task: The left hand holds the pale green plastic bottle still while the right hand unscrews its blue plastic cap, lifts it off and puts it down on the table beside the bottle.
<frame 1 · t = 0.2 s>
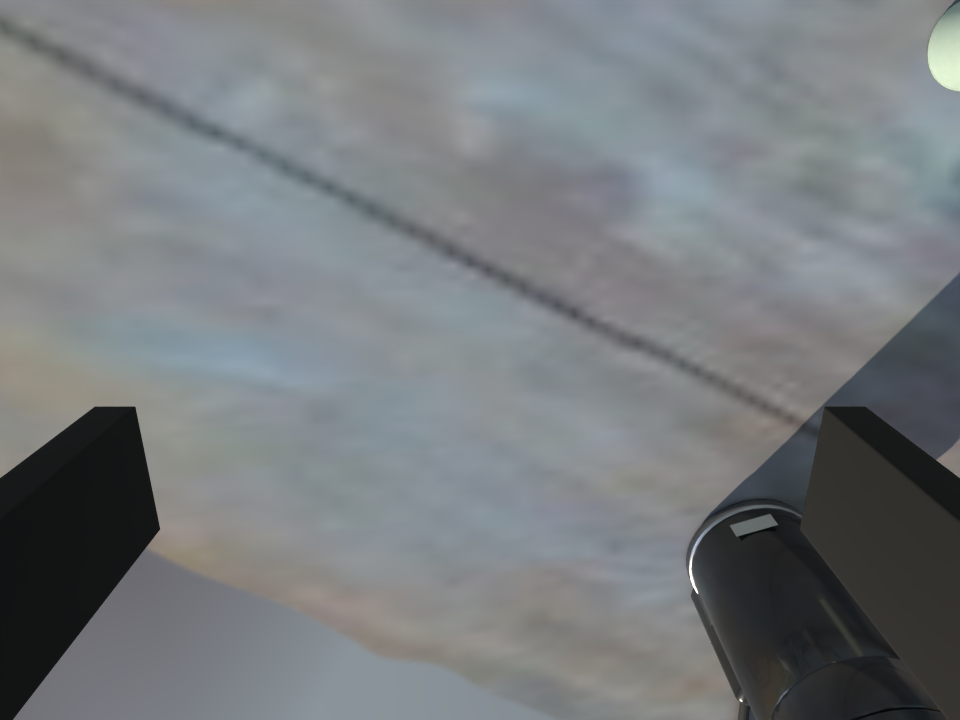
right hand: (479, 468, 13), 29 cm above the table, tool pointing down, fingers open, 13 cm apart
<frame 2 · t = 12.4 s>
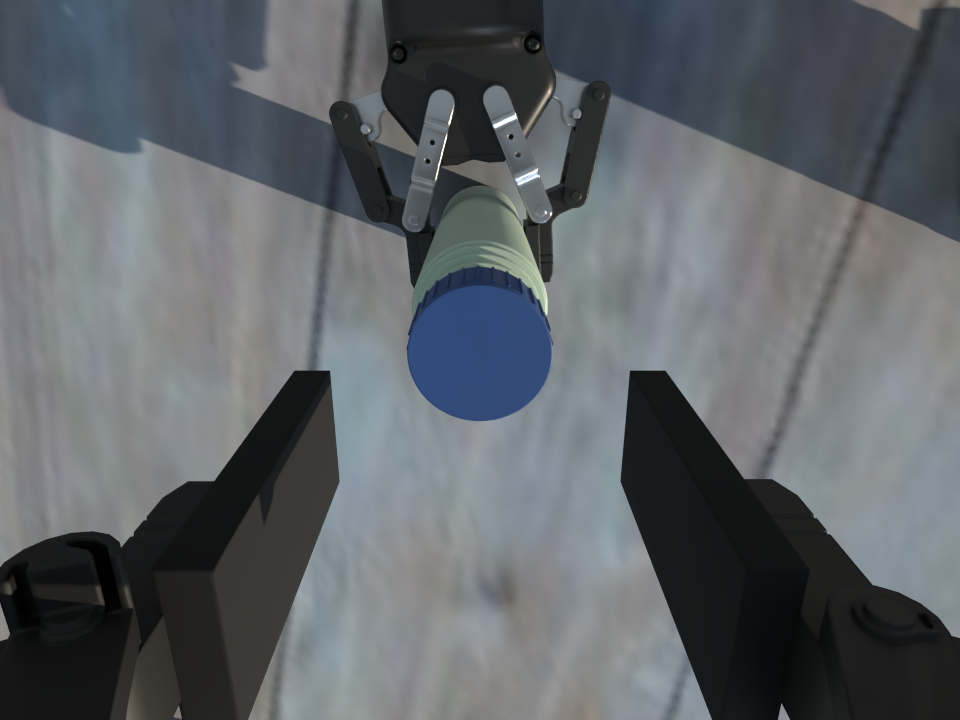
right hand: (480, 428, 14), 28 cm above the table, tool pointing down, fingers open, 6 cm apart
left hand: (482, 292, 36), fingers closed on bottle, 5 cm apart
cap: (479, 352, 19), point 24 cm above the table, screwed on, not yet turned
bottle: (479, 225, 41), on the table, touching left hand
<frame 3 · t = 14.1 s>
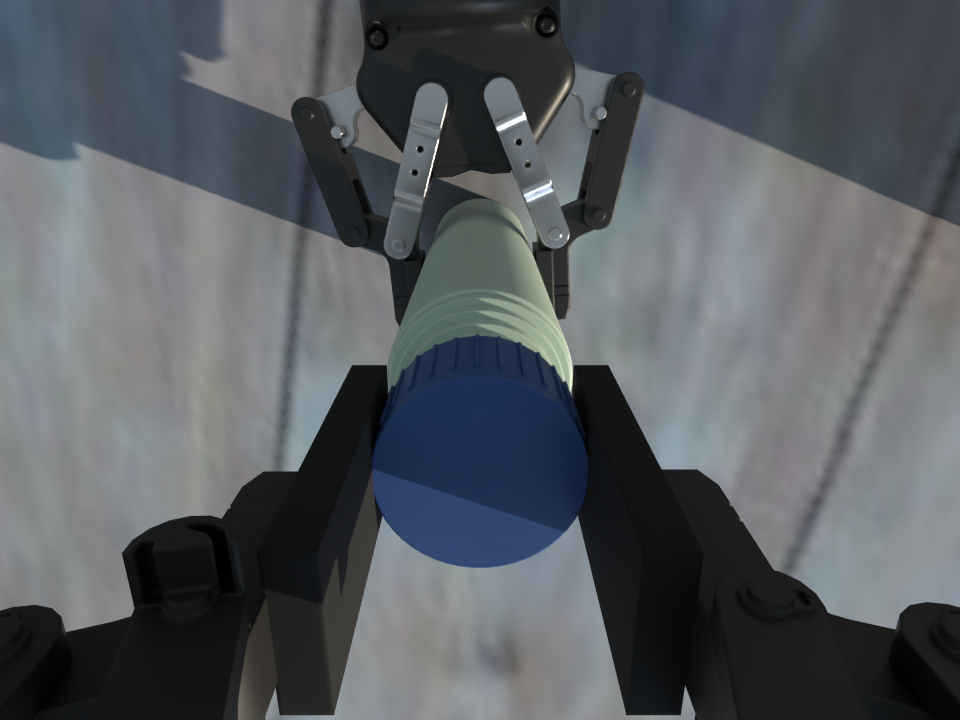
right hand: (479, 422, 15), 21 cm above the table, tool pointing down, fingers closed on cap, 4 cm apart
left hand: (483, 330, 29), fingers closed on bottle, 5 cm apart
cap: (480, 470, 13), point 24 cm above the table, screwed on, not yet turned, touching right hand
bottle: (479, 244, 35), on the table, touching left hand
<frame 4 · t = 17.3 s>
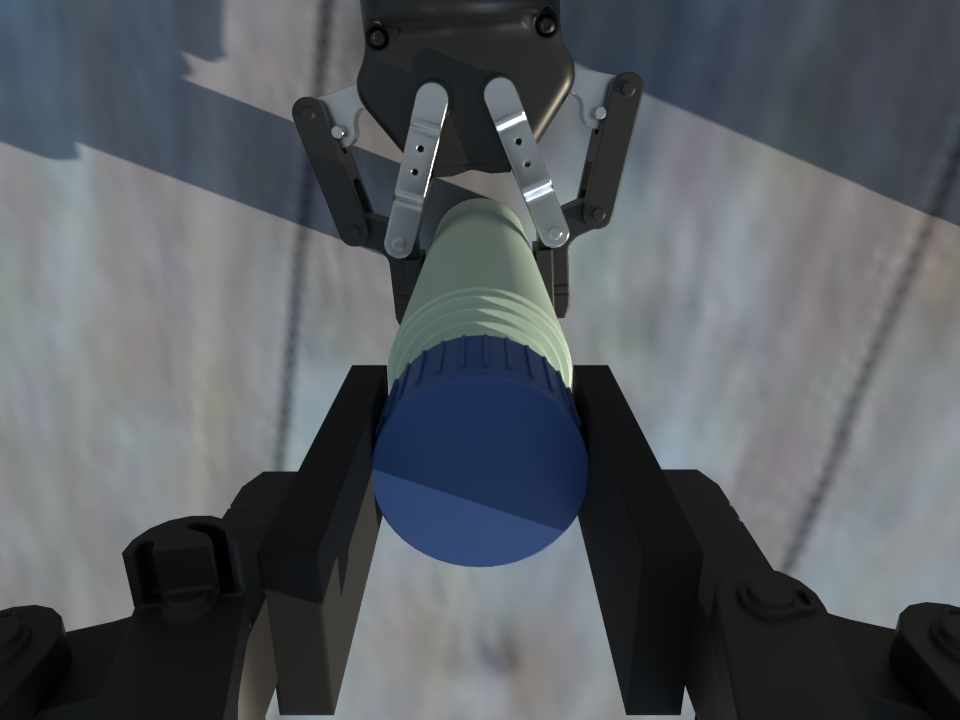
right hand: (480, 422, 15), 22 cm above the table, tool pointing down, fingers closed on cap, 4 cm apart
left hand: (483, 329, 29), fingers closed on bottle, 5 cm apart
cap: (480, 469, 13), point 24 cm above the table, turned 107° so far, risen 0.1 cm, still on its thread, touching right hand
bottle: (479, 244, 35), on the table, touching left hand
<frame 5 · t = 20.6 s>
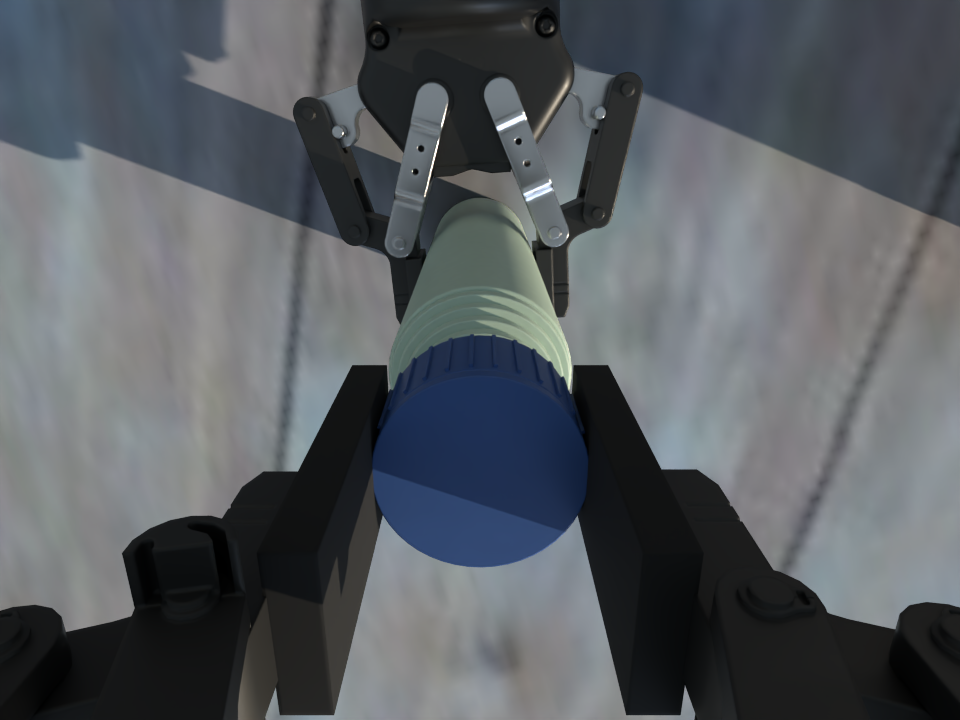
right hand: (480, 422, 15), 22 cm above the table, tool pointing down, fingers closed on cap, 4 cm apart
left hand: (483, 328, 30), fingers closed on bottle, 5 cm apart
cap: (480, 469, 13), point 24 cm above the table, turned 214° so far, risen 0.2 cm, still on its thread, touching right hand
bottle: (480, 243, 35), on the table, touching left hand
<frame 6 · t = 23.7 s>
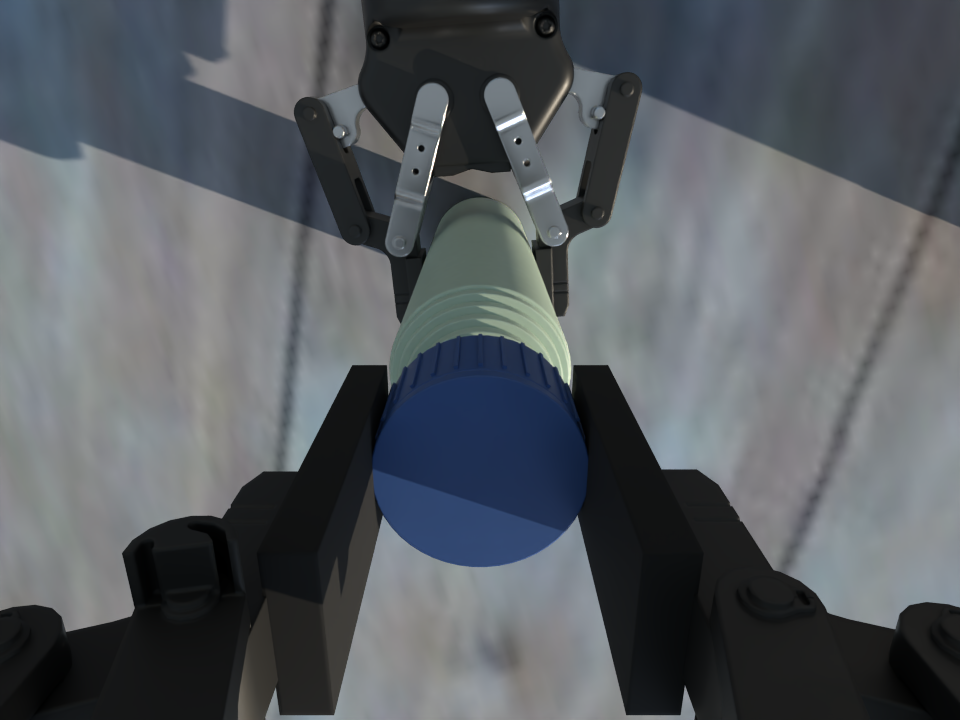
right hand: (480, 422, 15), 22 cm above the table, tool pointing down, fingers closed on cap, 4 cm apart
left hand: (483, 327, 30), fingers closed on bottle, 5 cm apart
cap: (480, 469, 13), point 24 cm above the table, turned 321° so far, risen 0.4 cm, still on its thread, touching right hand
bottle: (480, 243, 35), on the table, touching left hand
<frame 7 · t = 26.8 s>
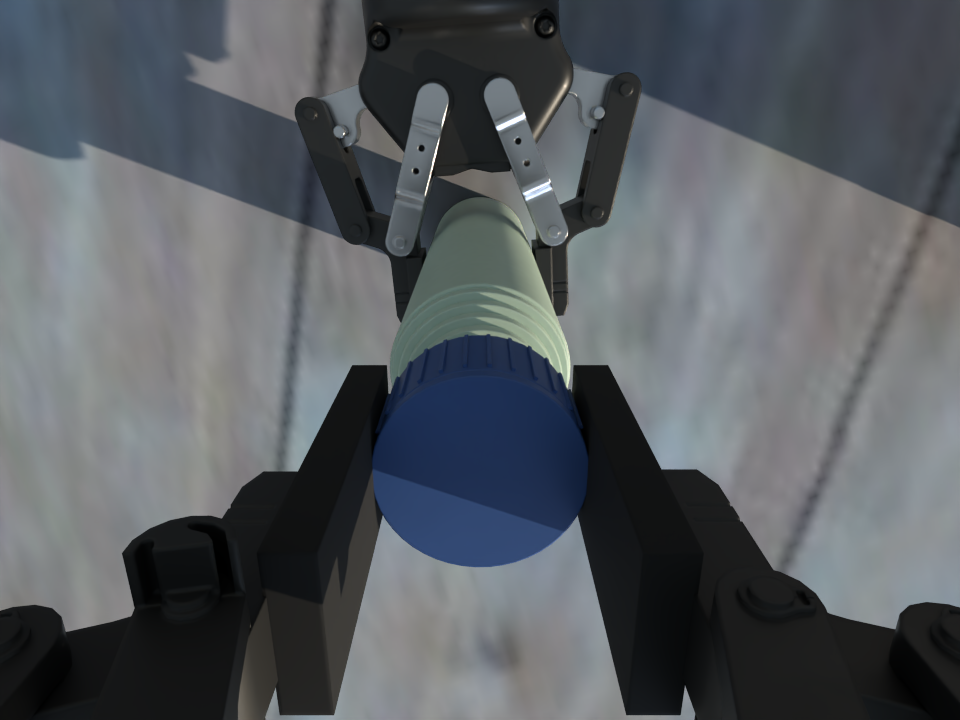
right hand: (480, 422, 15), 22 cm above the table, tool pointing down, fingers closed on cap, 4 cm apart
left hand: (483, 327, 30), fingers closed on bottle, 5 cm apart
cap: (480, 469, 13), point 24 cm above the table, turned 428° so far, risen 0.5 cm, still on its thread, touching right hand
bottle: (479, 242, 35), on the table, touching left hand
when the right hand's fingers open (1 cm above the table, at t = 34.7 s): cap drops 1 cm, point 2 cm above the table.
when the left hand's fingers open (7 cm above the table, at t = 36.0 s): bottle stays where it is, on the table.
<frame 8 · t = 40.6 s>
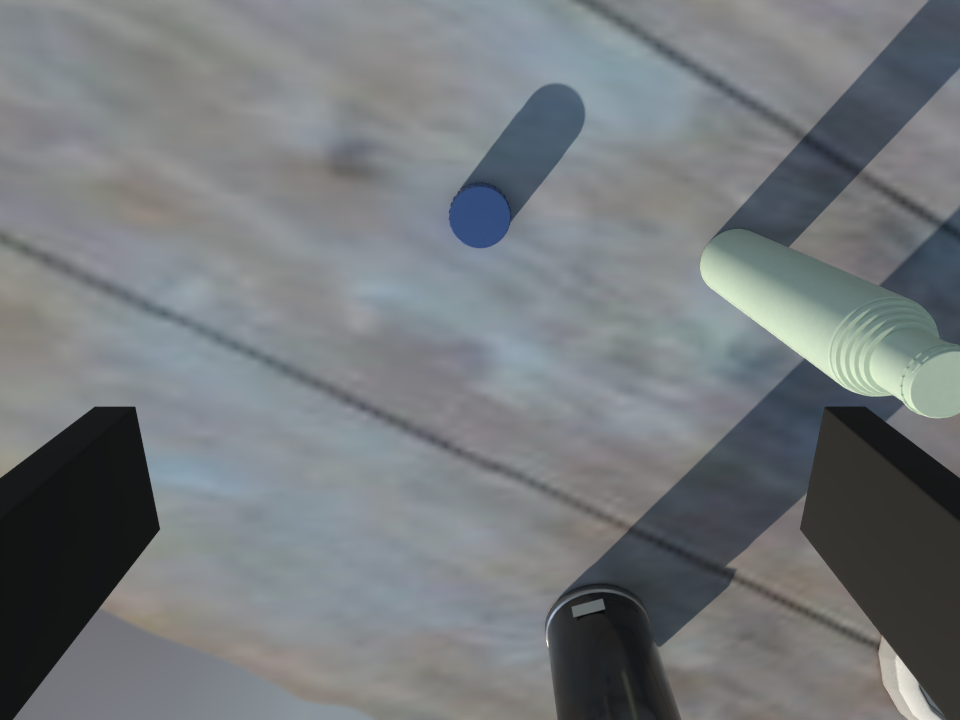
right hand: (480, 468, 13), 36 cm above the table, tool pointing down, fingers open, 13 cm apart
cap: (479, 217, 45), point 2 cm above the table, off its thread
bottle: (733, 261, 48), on the table
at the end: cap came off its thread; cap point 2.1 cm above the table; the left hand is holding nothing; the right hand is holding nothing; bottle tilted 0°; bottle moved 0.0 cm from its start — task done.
